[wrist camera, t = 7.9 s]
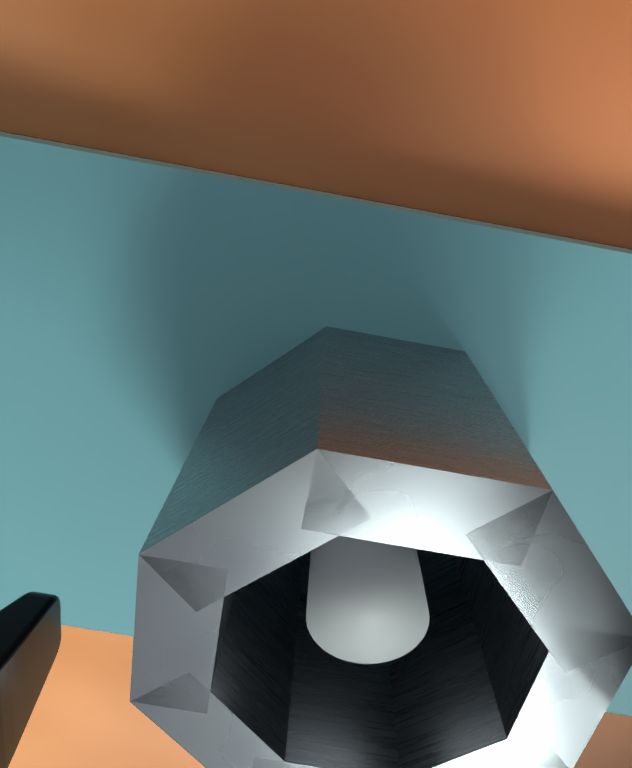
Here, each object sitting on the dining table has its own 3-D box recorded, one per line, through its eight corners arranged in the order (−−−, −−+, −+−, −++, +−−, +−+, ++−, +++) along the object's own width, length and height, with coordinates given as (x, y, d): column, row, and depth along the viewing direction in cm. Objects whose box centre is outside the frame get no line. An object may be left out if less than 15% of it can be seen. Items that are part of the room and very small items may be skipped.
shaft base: (645, 683, 16) (772, 904, 11) (-25, 574, 16) (-186, 759, 11) (875, 295, 12) (1253, 395, 7) (-69, 118, 11) (-385, 91, 6)
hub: (466, 617, 14) (528, 845, 9) (196, 573, 14) (124, 783, 9) (562, 369, 11) (716, 518, 7) (227, 308, 11) (146, 418, 6)
